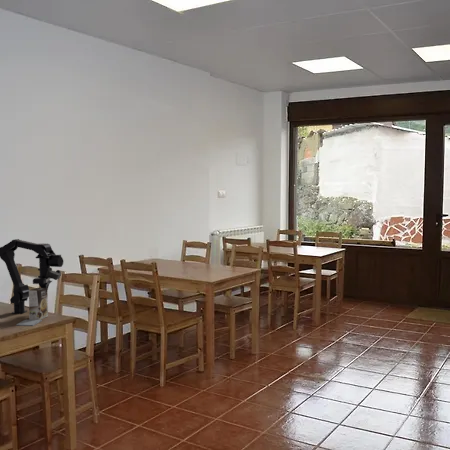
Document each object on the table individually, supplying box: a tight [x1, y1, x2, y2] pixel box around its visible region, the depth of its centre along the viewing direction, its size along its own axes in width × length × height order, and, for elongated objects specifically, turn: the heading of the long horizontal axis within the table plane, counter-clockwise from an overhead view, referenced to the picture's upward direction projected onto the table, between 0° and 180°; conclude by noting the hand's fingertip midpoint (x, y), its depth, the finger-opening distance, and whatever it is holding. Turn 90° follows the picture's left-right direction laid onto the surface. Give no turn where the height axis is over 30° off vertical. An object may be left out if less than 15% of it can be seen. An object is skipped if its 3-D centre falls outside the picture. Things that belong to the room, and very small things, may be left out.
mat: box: [15, 319, 43, 327], centre depth 283 cm, size 11×9×1 cm
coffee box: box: [28, 287, 49, 320], centre depth 294 cm, size 9×6×16 cm
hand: (45, 294), depth 303 cm, fingers closed
